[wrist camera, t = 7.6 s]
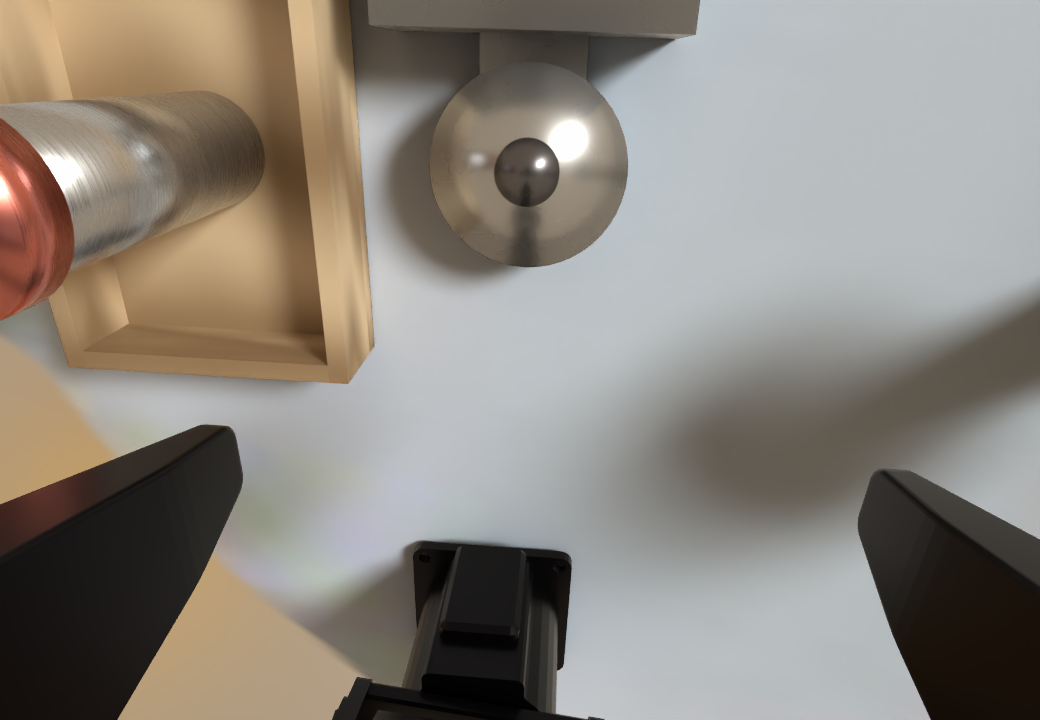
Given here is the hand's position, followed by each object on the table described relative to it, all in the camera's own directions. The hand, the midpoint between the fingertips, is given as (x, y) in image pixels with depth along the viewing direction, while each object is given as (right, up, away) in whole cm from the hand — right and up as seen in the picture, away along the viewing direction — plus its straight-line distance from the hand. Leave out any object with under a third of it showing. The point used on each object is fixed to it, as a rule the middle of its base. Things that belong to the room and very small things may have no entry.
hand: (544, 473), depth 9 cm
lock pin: (-10, +8, +11) cm, 17 cm away
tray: (-10, +8, +11) cm, 17 cm away
